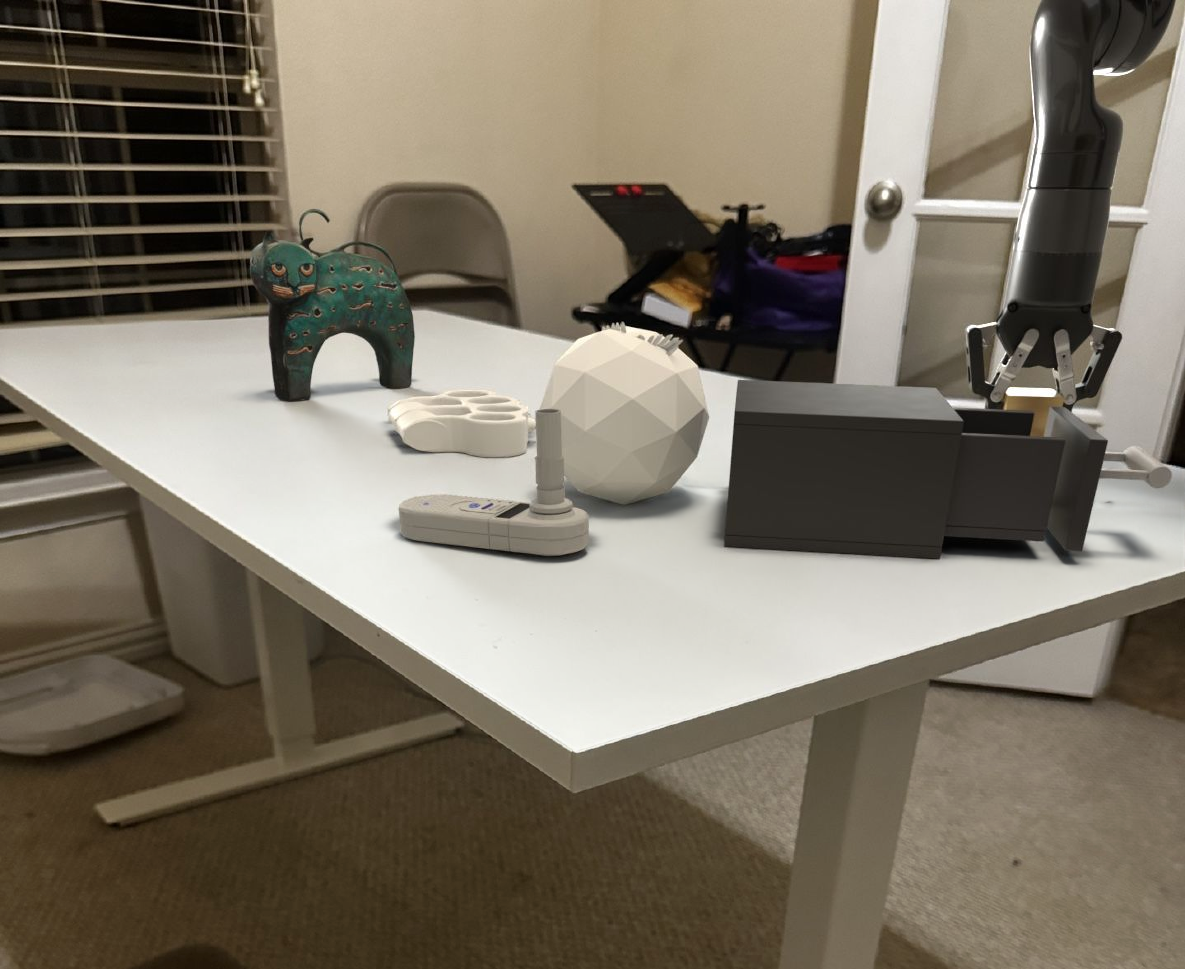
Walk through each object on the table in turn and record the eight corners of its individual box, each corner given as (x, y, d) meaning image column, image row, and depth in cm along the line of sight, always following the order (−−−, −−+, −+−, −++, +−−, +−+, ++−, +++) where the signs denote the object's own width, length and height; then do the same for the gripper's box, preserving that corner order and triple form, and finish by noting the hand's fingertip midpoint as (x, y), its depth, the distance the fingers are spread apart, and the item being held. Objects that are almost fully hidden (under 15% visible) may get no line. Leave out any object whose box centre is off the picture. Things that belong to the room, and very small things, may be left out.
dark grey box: (917, 509, 95) (936, 387, 90) (940, 558, 83) (964, 420, 78) (728, 500, 96) (737, 379, 91) (724, 546, 84) (734, 410, 79)
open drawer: (1117, 510, 92) (1142, 410, 88) (1165, 556, 81) (1196, 444, 77) (863, 497, 94) (876, 399, 90) (877, 540, 83) (893, 430, 79)
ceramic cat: (280, 404, 130) (259, 209, 120) (254, 396, 134) (231, 207, 124) (424, 388, 141) (415, 209, 132) (396, 381, 146) (385, 207, 136)
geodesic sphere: (775, 424, 95) (688, 270, 93) (715, 456, 84) (614, 282, 81) (642, 512, 104) (559, 374, 102) (571, 552, 93) (476, 398, 90)
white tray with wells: (384, 424, 121) (517, 419, 125) (409, 461, 106) (559, 455, 110) (382, 391, 120) (516, 387, 123) (407, 425, 104) (559, 419, 108)
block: (1042, 442, 110) (1053, 388, 108) (1053, 452, 106) (1064, 397, 103) (989, 440, 111) (999, 386, 108) (998, 450, 106) (1008, 395, 104)
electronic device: (413, 395, 84) (598, 406, 79) (424, 525, 89) (600, 544, 84) (374, 407, 80) (567, 420, 75) (388, 543, 84) (571, 564, 79)
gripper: (981, 247, 98) (950, 448, 106) (1155, 249, 96) (1110, 453, 104) (968, 243, 104) (940, 432, 112) (1131, 245, 102) (1090, 437, 111)
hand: (1022, 441), depth 108 cm, fingers closed on block, 5 cm apart
